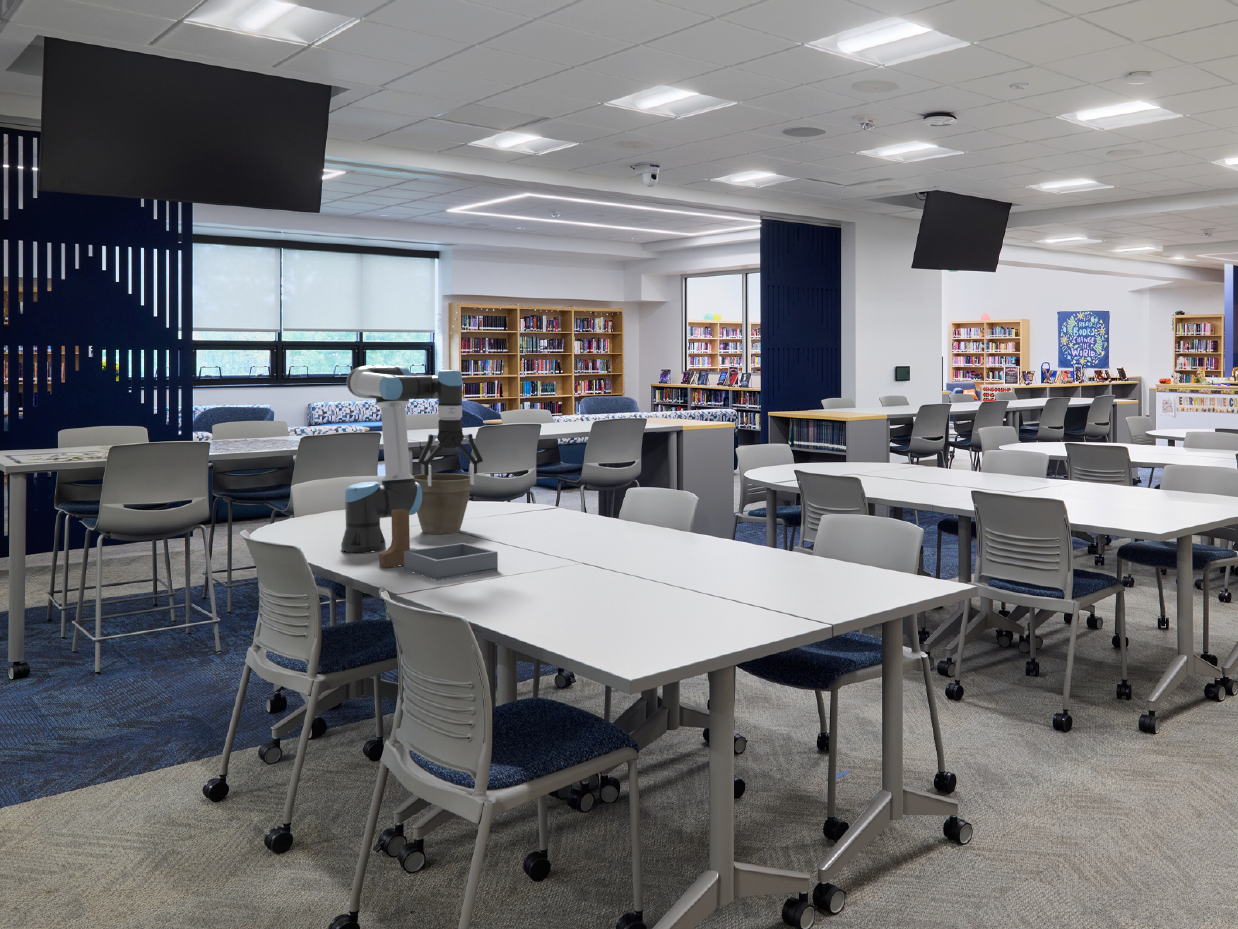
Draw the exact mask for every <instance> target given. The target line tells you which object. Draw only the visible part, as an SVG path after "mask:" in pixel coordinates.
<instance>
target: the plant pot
mask: <svg viewBox="0 0 1238 929" xmlns="http://www.w3.org/2000/svg"><path fill="white" fill-rule="evenodd" d="M411 475H412V474H411ZM412 476H413V477H414V478H415V482H417V483H419V484H420V486H421V489H422V502H421V506H420V508H419V510H418V511H417V512H416V513H417V514H416V515H417V518H418V522H419V524H420V529H421V531H422V532H423V534H424V533H425V534H428V535H449V534H455V533H458V532H460V530H461V528H462V525H463V522H464V521H463V520H464V518H465V514H466V510H467V506H468V503H469V499H470V495H471V491H472V490H473V489H474V485H471V484H470V474H463V473H462V474H460V473H431V486H428V475H426V476H425V474H424V473H421V474H413V475H412Z"/></svg>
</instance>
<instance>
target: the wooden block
mask: <svg viewBox="0 0 1238 929" xmlns="http://www.w3.org/2000/svg"><path fill="white" fill-rule="evenodd" d="M391 516H392V517H391V542H390V546H389V547H388V548H387V549H386V550H381V551H379V553H378V562H379V563H378V566H379V567H381V566H382V567H381V568H383V569H388V568H387V567H390V568H392V567H391V566H398V565H404V551H409V550H411V542H410V540H411V539H410V538H411V536H410V515H409V510H406V509H396V510H392V511H391ZM398 567H399V566H398Z"/></svg>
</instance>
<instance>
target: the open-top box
mask: <svg viewBox="0 0 1238 929" xmlns="http://www.w3.org/2000/svg"><path fill="white" fill-rule="evenodd" d="M498 558H499V556H498V551H495V550H492V549H490V548H484V547H480V546H477V545H473V544H468V543H466V542H465V543H464V542H461V543H454V544H446V545H445V544H444V545H440V546H433V547H426V548H425V547H424V548H417V549H410V550H409V551H404V566H403V570H404V569H405V570H404V571H406V570H407V571H406V572H409V573H412V572H414V573H413V574H415V573H416V575H419V576H421V575H423V576H422V577H424V576H425V578H428V579H430V578H432V579H431V580H433V579H434V581H442V579H444V580H448V579H447V578H450V579H454V578H461V577H460V576H462V577H466V576H465V575H468V576H473V575H474V576H475V575H479V574H478V573H480V574H483V573H482V572H486V573H489V572H491V571H492V572H496V571H495V570H498V569H499V566H498V565H499V564H498V563H499V562H498V560H499V559H498ZM498 571H499V570H498Z"/></svg>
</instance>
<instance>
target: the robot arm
mask: <svg viewBox="0 0 1238 929" xmlns="http://www.w3.org/2000/svg"><path fill="white" fill-rule="evenodd" d="M462 378H463V375H462V372H461V371H460V370H457V369H456V370H454V369H453V370H452V369H440V370H439V371H438V372H437V374H434V375H433V374H428V375H413V374H412V372H411V371H410V369H409V368H408V367H407V366H403V365H395V364H394V365H391V364H390V365H362V366H357V367H356V368H354V369H352V370H351V371H350V372H349V373H348V375H347V377H346V382H345V383H346V388H347V390H348V391H349V392H350V393H351V394H352V395H354V396H355V397H358V398H362V399H375V405H376V406H378V407H379V408H380V415H381V429H382V441H383V443H382V444H383V456H384V458H383V459H384V470H385V473H384V474H385V475H384V477H383V478H382V479H381V485H380V483H379V481H375V480H374V481H373V480H372V481H363V482H358V483H354V484H351V485H349V486H347V487H346V488H345V494H344V495H345V496H344V506H345V511H344V512H345V530H344V534H343V537H342V541H341V544H340V546H341V547H340V548H341V549H340V550H341V551H342V552H344V551H346V552H345V553H349V552H356V553H355V554H361V553H360V552H368V553H372V552H371V551H376V552H381V551H384V550H385V549H386V548H387V547H386V546H387V544H386V542H387V541H386V540H385V536H384V535H383V531H382V529H381V519H384V518H392V516H391V511H392V510H396V509H406V510H409V516H413V515H415V514H416V513H417V511H418V510H419V508H420V506H421V502H422V489H421V486H420V484H419V483H417V482H415V478H414V477H413V476H412V474H411V470H410V469H411V468H410V455H409V454H410V452H409V441H408V428H407V426H408V425H407V412H406V410H407V409H406V407H407V406H408V404H409V403H410V400H433V399H434V400H435V399H436V400H437V412H438V413H437V417H438V418H439V420H438V425H437V426H438V432H437V434H432V433H429V434H428V435H427V442H426V444H425V446H424V448H423V450H422V452H421V453H420V456H419V458H418V460H417V462H418V463H419V464H420V465H423V474H425V476H426V475H428V486H431V474H432V465H431V462H433V460H434V458H436V456H437V455H438V454H439V452H440V451H442V450H443V449H444V448H445V449H450V448H452V449H457V448H459V449H460V451H462V452H463V453H464V455H465V456H466V457H467V458H468V459H469V461H470V462H472V463H469V475H470V484H471V485H473V486H475V475H477V474H478V464H479V463H482V462H483V461H484V460H483V457H482V455H481V453H480V451H479V449H478V448H477V446H476V444H475V442H474V436H473V434H472V433H470V432H468V433H466V434H465V433H464V432H463V419H461V418H462V417H463V379H462ZM436 439H437V441H438V442H439V443H438V444H437V446H436V447H435V448H434V450H433V451H432V452H431V453H430V454H429V455H428V453H429V451H430V449H431V446H432V445H433V442H435V440H436ZM464 439H465V440H466V441H467V442H468V444H469V445H470V447H471V450H472V452H473V453H474V455H475V457H476V459H475V457H474V456H473V455H472V454H471V453H470V452H469V451H468V449H467V448H466V447H465V445H464V444H462V442H463V440H464ZM427 455H428V457H427ZM426 457H427V458H426ZM383 549H384V550H383ZM380 550H381V551H380ZM357 552H358V553H357Z"/></svg>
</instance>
